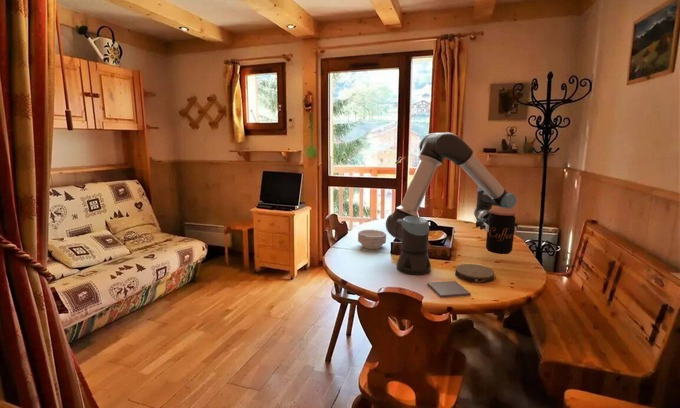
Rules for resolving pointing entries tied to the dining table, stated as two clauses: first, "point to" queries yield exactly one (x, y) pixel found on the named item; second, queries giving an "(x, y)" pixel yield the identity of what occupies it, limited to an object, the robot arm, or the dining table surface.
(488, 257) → the dining table surface
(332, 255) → the dining table surface
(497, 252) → the coffee jar
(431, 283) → the slate coaster
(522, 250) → the dining table surface
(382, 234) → the paper bowls
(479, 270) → the grey round disc
